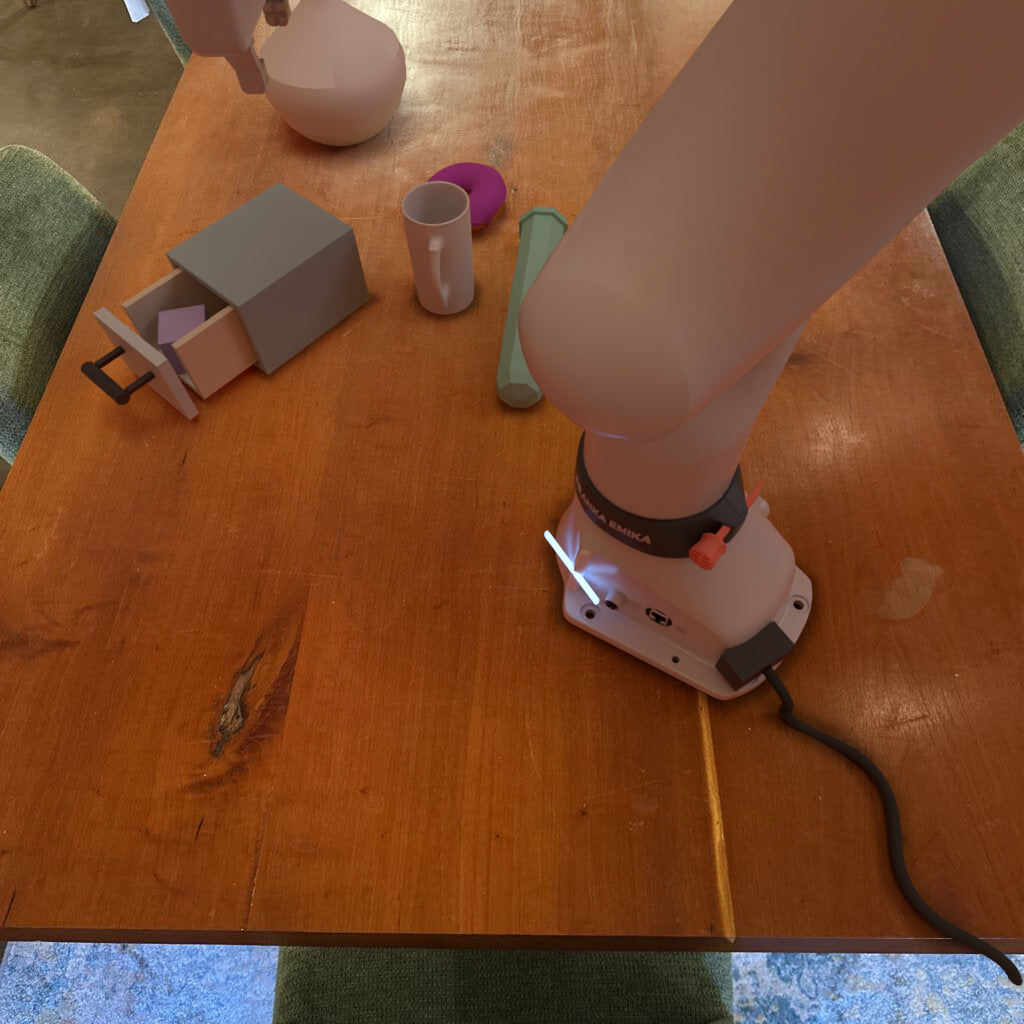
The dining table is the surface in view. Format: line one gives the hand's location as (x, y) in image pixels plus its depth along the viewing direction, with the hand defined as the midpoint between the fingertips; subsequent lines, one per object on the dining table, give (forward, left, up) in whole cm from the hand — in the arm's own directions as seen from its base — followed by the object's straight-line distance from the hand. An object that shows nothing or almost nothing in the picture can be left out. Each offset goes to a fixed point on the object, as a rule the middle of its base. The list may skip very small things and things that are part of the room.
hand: (269, 54), depth 58 cm
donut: (+3, -22, -29) cm, 37 cm away
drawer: (+7, +15, -28) cm, 32 cm away
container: (-15, -13, -29) cm, 35 cm away
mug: (-6, -9, -29) cm, 31 cm away
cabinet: (+7, +3, -29) cm, 30 cm away
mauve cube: (+7, +14, -27) cm, 31 cm away
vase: (+28, -25, -29) cm, 48 cm away
